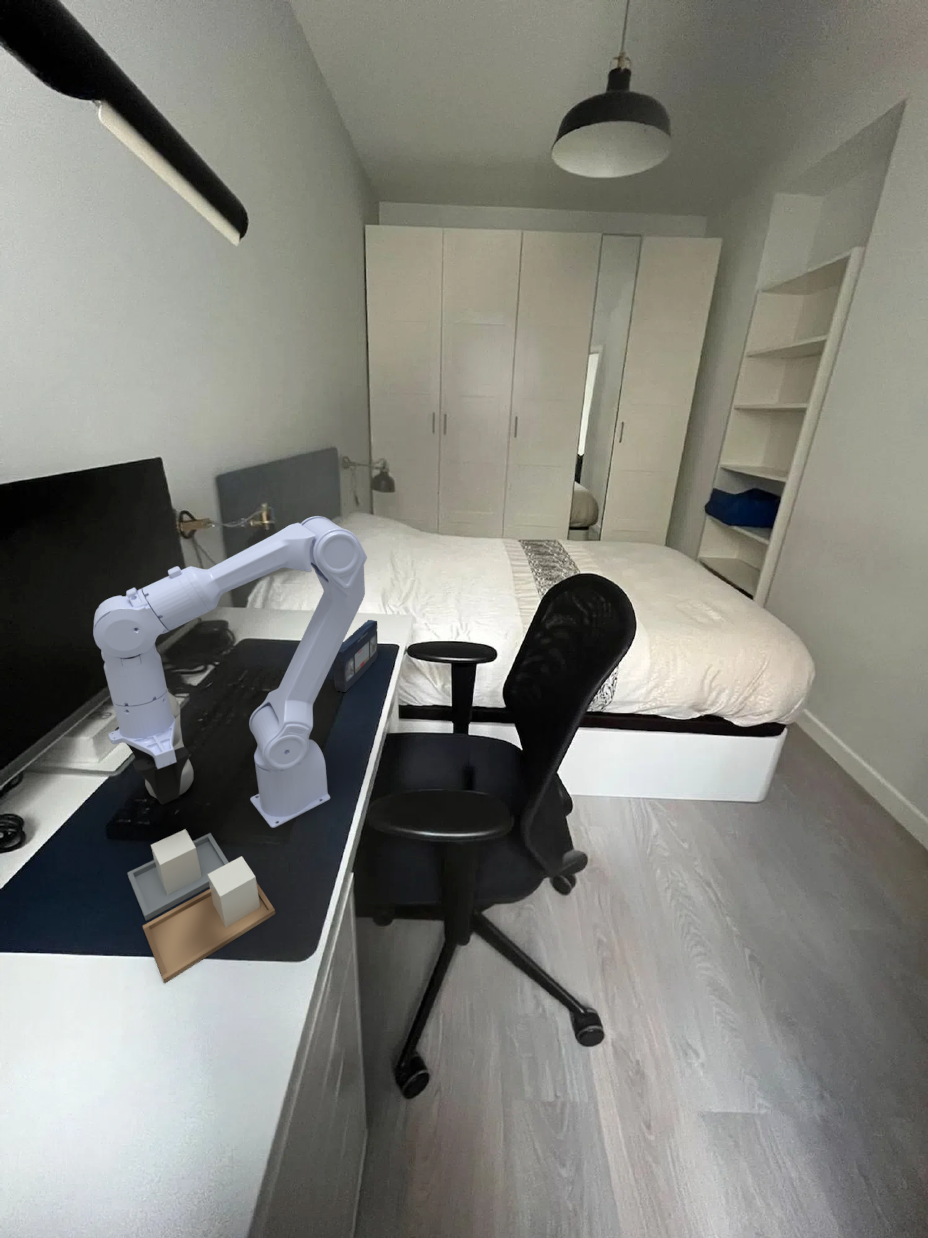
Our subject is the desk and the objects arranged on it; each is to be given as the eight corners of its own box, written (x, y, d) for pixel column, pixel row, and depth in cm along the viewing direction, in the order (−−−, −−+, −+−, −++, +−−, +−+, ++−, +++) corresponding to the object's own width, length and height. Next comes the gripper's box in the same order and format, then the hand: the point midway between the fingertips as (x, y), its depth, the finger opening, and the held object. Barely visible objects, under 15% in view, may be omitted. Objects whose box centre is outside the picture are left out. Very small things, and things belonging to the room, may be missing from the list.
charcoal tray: (211, 839, 71) (210, 832, 71) (233, 875, 66) (232, 868, 66) (129, 879, 65) (127, 872, 64) (146, 923, 59) (144, 916, 59)
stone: (246, 886, 64) (241, 856, 62) (260, 907, 62) (255, 876, 60) (213, 905, 62) (207, 874, 60) (226, 928, 59) (220, 896, 57)
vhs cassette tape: (345, 694, 109) (343, 652, 105) (332, 692, 110) (330, 650, 106) (380, 658, 126) (379, 620, 122) (369, 656, 126) (367, 619, 123)
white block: (191, 858, 68) (185, 829, 66) (201, 877, 65) (195, 847, 63) (158, 874, 65) (150, 845, 63) (167, 895, 62) (159, 865, 61)
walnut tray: (248, 874, 66) (247, 868, 66) (275, 916, 61) (274, 910, 61) (144, 932, 58) (142, 926, 58) (165, 986, 53) (163, 979, 53)
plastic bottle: (203, 776, 83) (182, 667, 76) (183, 806, 77) (159, 690, 69) (162, 776, 83) (138, 666, 75) (139, 806, 77) (110, 689, 69)
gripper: (88, 681, 64) (112, 769, 69) (115, 733, 54) (140, 831, 60) (151, 665, 69) (169, 749, 74) (186, 710, 59) (204, 803, 64)
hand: (160, 784), depth 67 cm, fingers open, 7 cm apart
